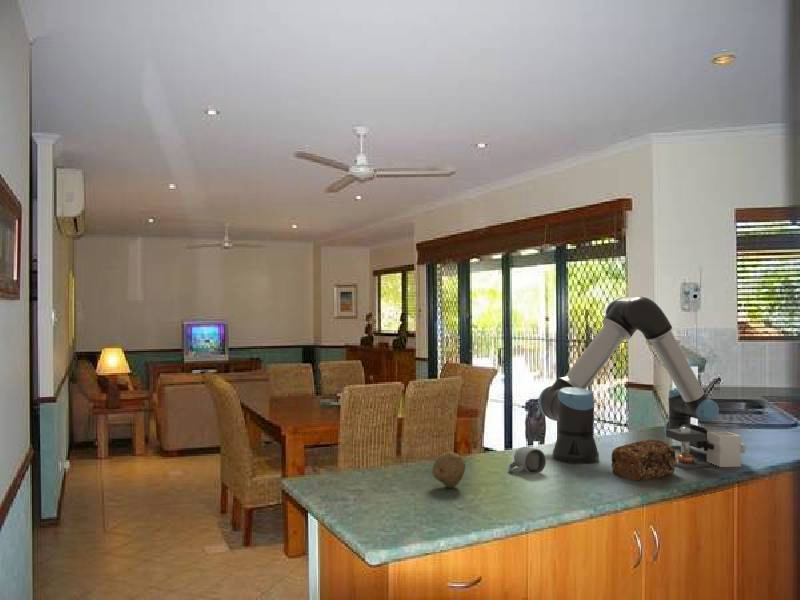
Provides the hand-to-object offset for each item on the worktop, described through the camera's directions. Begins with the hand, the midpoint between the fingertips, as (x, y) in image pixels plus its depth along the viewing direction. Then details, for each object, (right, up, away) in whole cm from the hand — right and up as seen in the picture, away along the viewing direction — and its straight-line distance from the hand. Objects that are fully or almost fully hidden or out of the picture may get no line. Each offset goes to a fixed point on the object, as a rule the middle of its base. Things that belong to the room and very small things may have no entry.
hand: (732, 449), depth 218 cm
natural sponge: (-94, -5, -28) cm, 98 cm away
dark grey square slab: (-13, +3, +4) cm, 14 cm away
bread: (-32, -6, -10) cm, 35 cm away
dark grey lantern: (-14, -6, +4) cm, 15 cm away
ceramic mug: (-68, -5, -9) cm, 69 cm away
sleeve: (-1, -6, +5) cm, 8 cm away
